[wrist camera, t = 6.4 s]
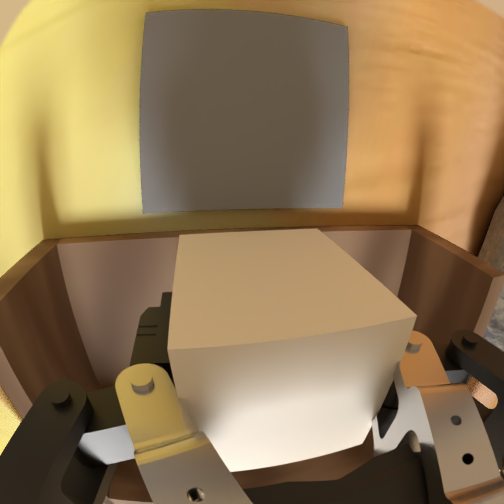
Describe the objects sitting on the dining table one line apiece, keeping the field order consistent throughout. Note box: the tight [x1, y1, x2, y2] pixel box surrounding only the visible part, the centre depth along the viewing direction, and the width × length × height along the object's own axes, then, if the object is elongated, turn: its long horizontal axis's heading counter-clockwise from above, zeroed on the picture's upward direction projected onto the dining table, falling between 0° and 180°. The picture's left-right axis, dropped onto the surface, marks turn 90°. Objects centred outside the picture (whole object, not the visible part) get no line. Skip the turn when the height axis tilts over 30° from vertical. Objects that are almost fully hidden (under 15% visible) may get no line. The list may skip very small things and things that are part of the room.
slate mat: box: [140, 9, 349, 214], centre depth 11 cm, size 9×9×1 cm
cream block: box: [167, 229, 417, 472], centre depth 9 cm, size 5×5×6 cm
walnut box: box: [0, 225, 504, 504], centre depth 13 cm, size 20×14×7 cm
